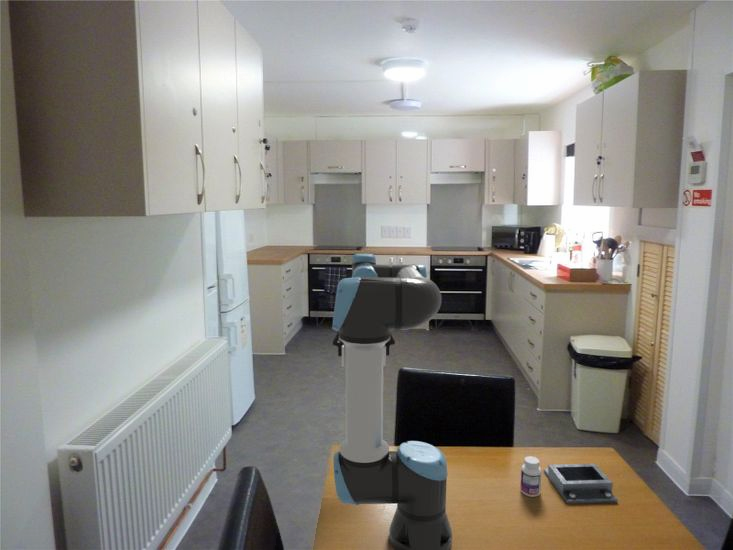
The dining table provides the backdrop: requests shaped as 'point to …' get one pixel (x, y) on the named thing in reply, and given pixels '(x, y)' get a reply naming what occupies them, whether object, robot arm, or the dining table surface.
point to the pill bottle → (530, 477)
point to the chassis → (581, 483)
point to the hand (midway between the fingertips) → (363, 365)
